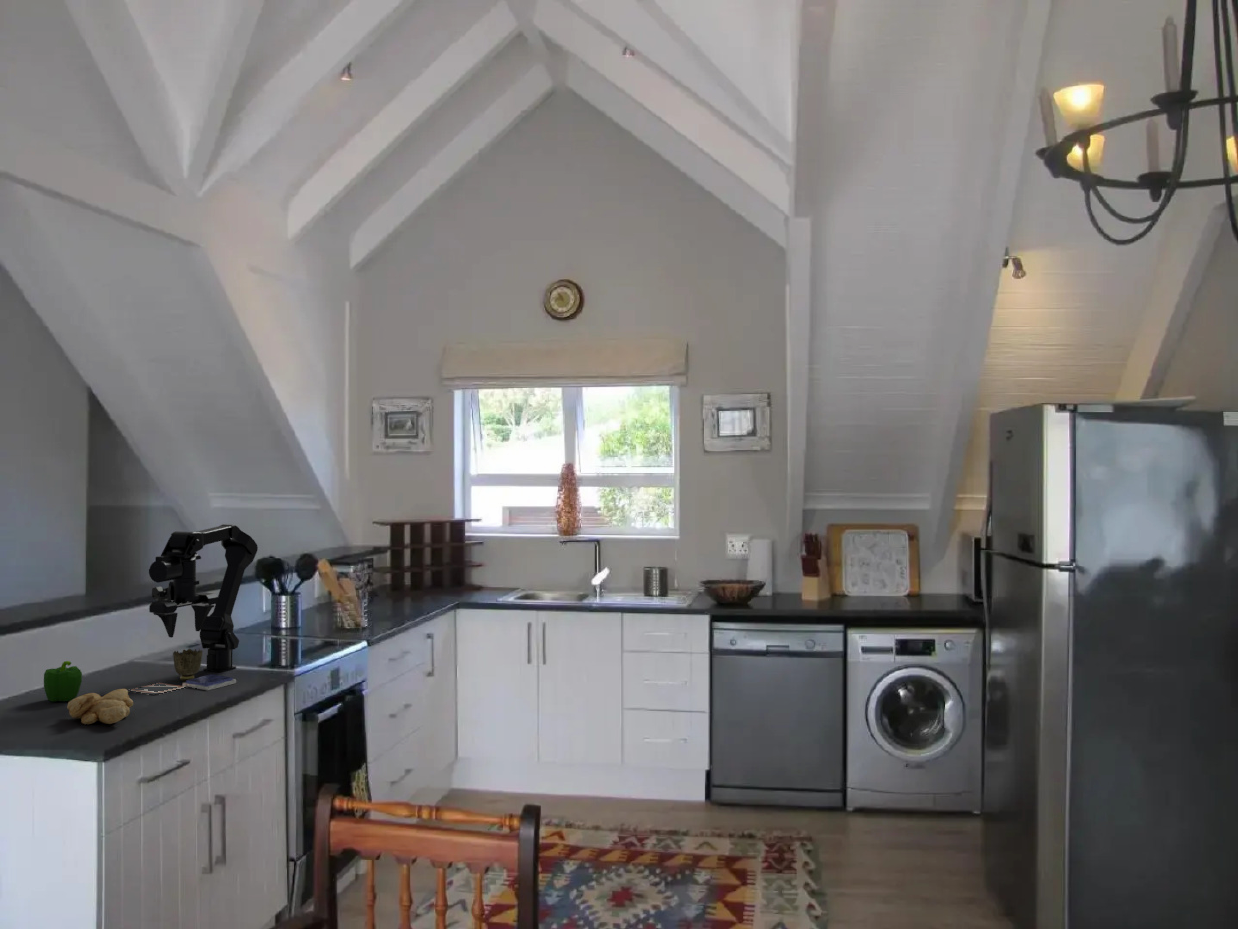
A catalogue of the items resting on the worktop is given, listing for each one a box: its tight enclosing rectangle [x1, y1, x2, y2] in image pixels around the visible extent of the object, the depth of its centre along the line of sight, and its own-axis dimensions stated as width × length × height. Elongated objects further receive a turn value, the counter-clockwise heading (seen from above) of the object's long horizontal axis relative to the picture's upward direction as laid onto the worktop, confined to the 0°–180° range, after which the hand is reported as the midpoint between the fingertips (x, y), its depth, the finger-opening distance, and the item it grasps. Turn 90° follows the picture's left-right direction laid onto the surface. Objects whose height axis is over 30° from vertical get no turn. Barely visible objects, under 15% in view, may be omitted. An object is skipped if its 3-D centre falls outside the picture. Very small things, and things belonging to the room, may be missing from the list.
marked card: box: [131, 682, 185, 694], centre depth 251 cm, size 10×10×1 cm
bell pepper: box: [43, 660, 83, 703], centre depth 238 cm, size 8×8×10 cm
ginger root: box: [66, 688, 134, 725], centre depth 221 cm, size 16×16×8 cm
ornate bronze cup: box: [172, 648, 204, 682], centre depth 262 cm, size 8×7×8 cm
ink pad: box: [182, 673, 237, 691], centre depth 257 cm, size 10×9×2 cm
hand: (184, 634), depth 261 cm, fingers open, 9 cm apart
